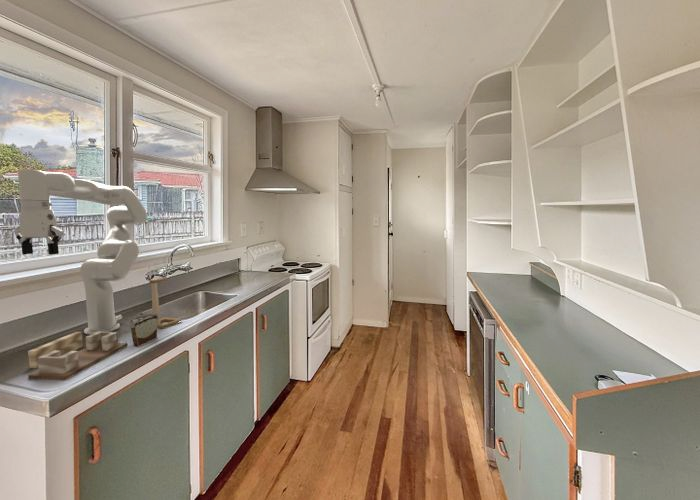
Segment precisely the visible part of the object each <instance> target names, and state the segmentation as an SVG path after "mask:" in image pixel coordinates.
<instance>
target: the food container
mask: <svg viewBox="0 0 700 500" xmlns="http://www.w3.org/2000/svg"><path fill="white" fill-rule="evenodd" d="M158 318H159V317H158V314H153V313H146V314H141V315H137V316H134V317H131V318H130V319H129V321H128V324H127V326H128V328H130V333H131V337H132V344H133V346H134V347H137V348H139V347H141V346H144V345H145V343H146V344H147V343H149V342H152V341H154V340H156V339H158V329H157V321H158Z"/></svg>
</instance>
